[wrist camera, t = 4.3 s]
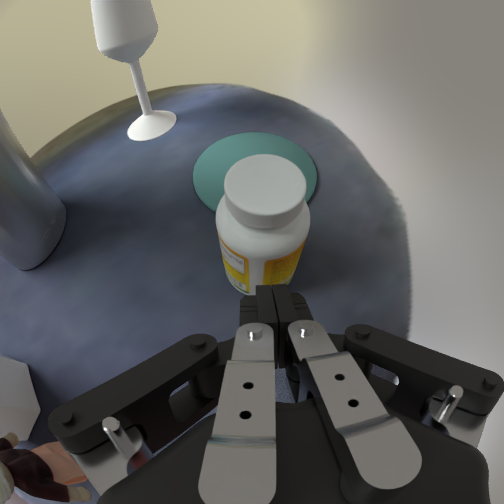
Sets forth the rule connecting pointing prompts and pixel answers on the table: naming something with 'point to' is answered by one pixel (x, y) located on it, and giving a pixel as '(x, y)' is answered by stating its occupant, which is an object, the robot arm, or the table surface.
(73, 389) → the table surface
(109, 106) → the table surface
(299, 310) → the robot arm
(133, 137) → the champagne flute
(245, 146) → the mat
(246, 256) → the supplement bottle
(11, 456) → the grandmother figurine
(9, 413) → the jar
